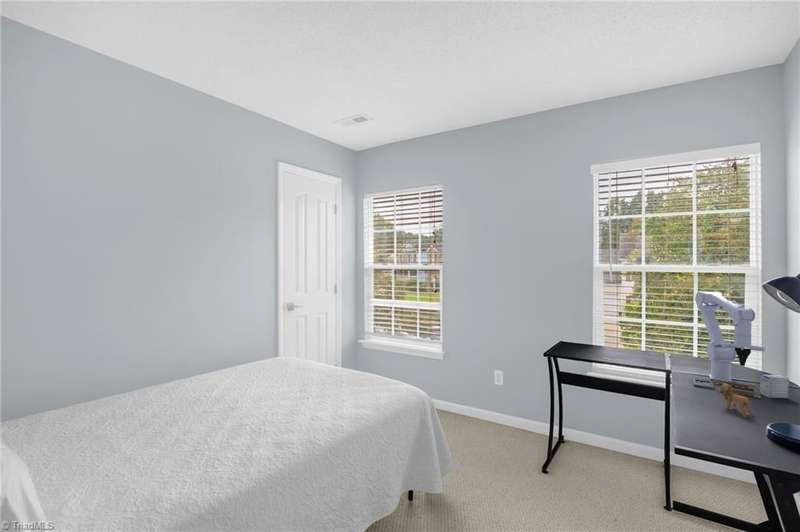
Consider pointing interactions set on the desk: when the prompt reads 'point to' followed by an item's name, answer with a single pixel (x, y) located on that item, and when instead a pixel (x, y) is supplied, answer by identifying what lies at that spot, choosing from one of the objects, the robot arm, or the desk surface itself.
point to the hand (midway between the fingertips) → (742, 365)
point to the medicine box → (774, 386)
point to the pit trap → (702, 382)
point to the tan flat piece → (750, 386)
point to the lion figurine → (735, 399)
